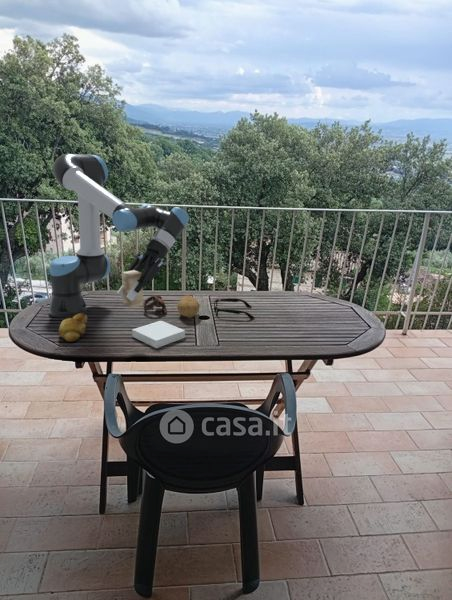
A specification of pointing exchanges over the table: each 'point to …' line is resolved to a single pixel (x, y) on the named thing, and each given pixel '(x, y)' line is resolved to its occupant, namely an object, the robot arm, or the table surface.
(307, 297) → the table surface
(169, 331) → the stone tile base
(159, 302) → the brown arched figurine
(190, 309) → the potato
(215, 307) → the glasses
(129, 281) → the beech block
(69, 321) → the bread roll
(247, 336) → the table surface
